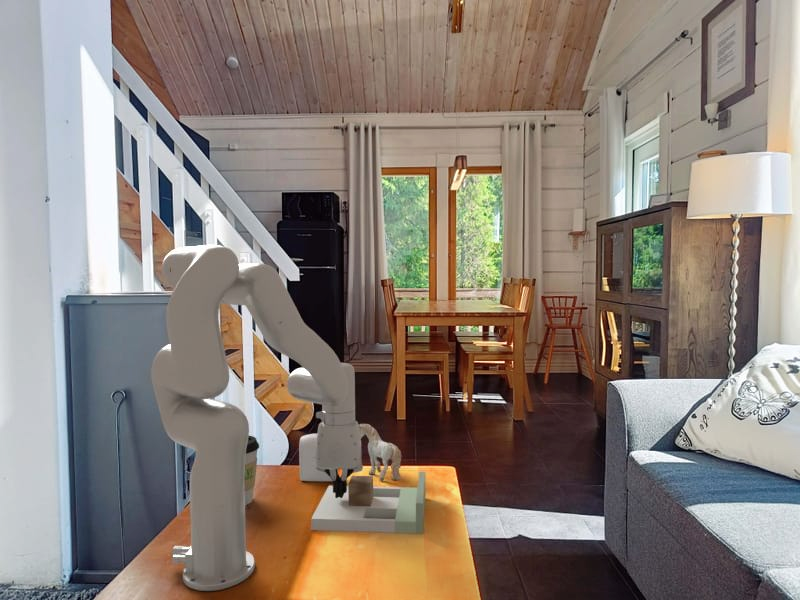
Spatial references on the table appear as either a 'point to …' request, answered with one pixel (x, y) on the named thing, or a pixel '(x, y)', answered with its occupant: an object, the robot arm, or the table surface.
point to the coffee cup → (250, 468)
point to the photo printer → (310, 460)
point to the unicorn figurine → (381, 452)
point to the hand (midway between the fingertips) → (339, 495)
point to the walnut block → (360, 490)
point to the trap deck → (374, 511)
